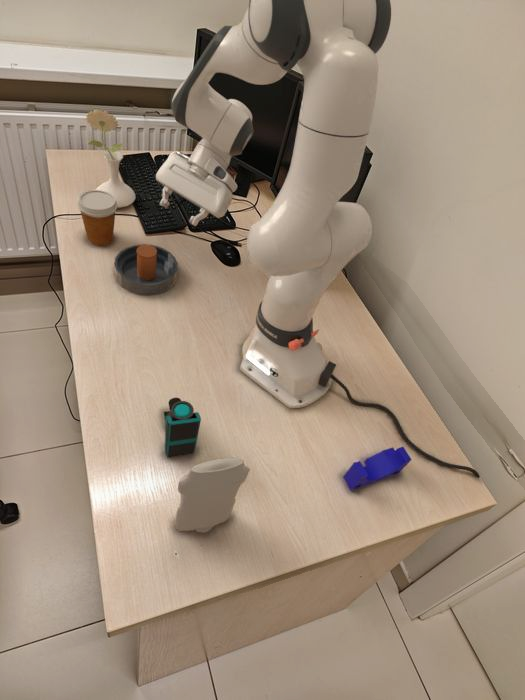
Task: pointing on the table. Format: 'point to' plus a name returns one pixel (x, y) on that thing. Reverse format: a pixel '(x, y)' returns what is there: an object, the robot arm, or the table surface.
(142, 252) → the copper tin
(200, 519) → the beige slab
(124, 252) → the bowl
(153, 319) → the table surface
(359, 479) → the blue toy truck
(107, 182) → the flower in vase
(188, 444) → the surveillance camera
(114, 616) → the table surface
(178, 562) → the table surface
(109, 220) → the disposable coffee cup
